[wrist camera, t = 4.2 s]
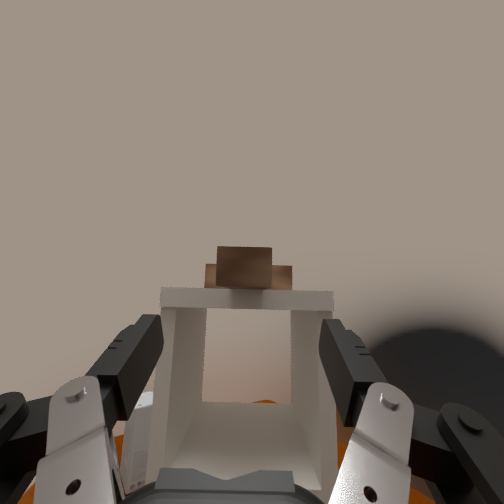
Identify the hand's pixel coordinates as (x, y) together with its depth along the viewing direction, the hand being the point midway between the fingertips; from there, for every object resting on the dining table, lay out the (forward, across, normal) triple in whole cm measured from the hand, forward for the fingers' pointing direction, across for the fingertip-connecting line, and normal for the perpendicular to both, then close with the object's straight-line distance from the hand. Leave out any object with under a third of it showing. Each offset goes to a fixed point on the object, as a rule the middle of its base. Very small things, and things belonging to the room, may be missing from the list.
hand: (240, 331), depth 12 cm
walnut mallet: (+15, 0, +6) cm, 16 cm away
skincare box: (+14, +18, +41) cm, 47 cm away
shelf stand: (+4, 0, +36) cm, 36 cm away
